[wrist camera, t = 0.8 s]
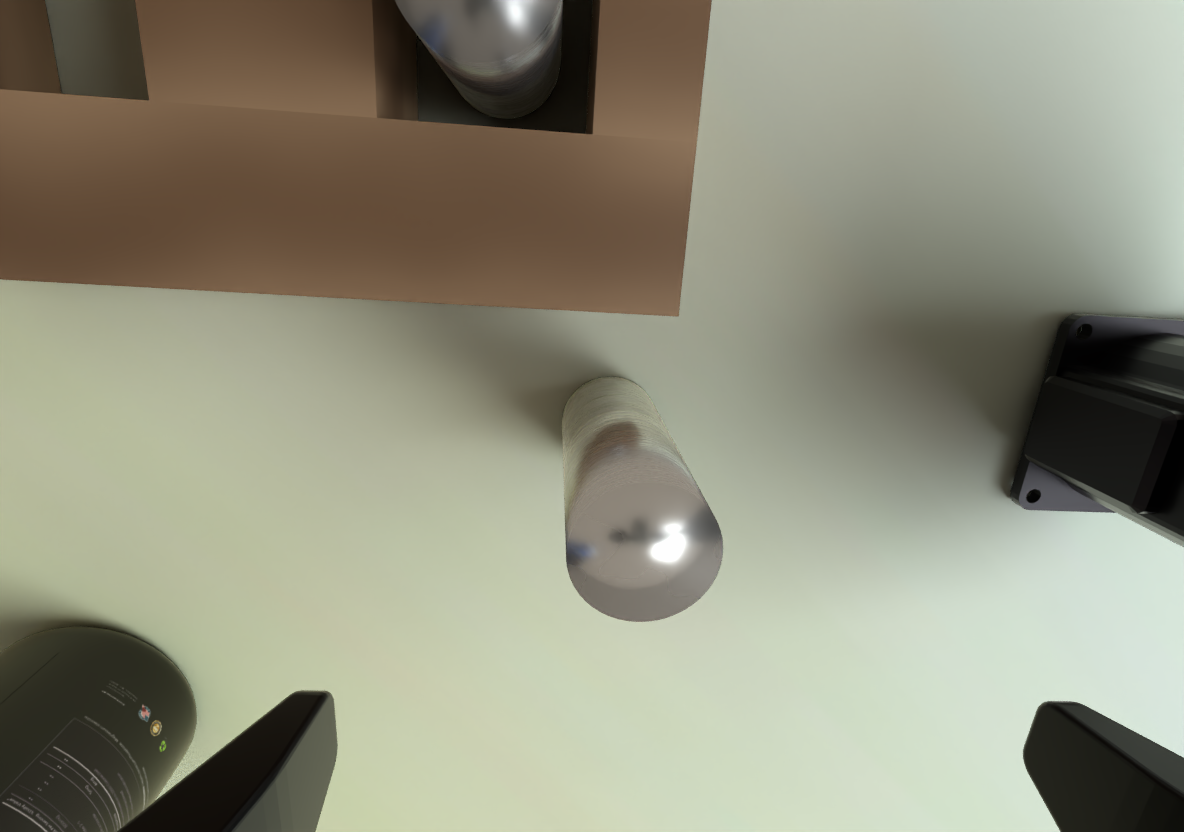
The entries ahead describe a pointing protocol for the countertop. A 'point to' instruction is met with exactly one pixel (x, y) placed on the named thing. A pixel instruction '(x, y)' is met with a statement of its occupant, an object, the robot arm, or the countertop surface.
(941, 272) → the countertop surface
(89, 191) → the hole block
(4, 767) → the supplement bottle
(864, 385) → the countertop surface
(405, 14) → the short grey peg
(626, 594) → the steel pin
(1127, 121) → the countertop surface
